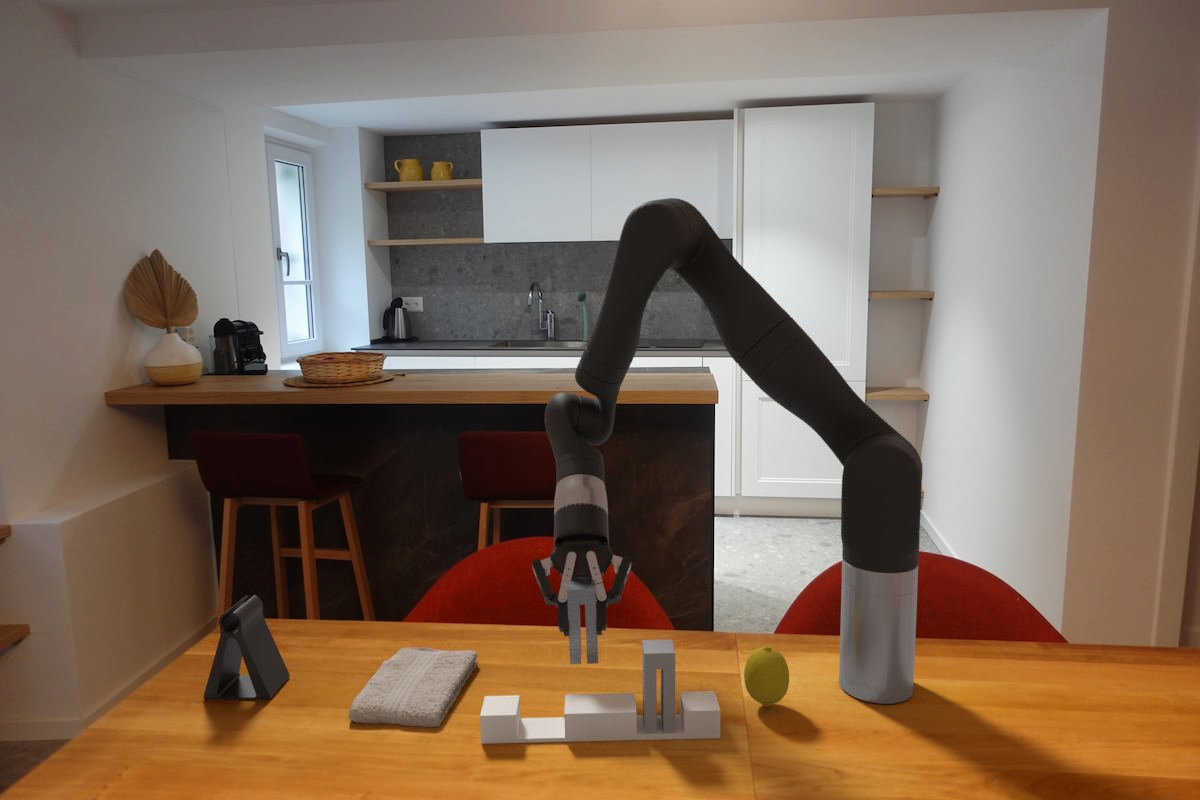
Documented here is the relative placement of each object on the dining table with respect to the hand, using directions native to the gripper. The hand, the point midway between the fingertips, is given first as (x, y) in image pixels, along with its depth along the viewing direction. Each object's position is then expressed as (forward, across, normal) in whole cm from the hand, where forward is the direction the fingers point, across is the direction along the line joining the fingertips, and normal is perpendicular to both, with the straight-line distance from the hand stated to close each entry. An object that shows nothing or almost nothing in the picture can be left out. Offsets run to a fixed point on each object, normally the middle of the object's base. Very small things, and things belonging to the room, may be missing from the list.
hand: (583, 633), depth 103 cm
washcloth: (+4, -22, +9) cm, 24 cm away
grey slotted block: (+2, 0, +4) cm, 5 cm away
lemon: (+9, +23, +4) cm, 25 cm away
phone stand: (+3, -45, +9) cm, 46 cm away
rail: (+12, +2, +1) cm, 12 cm away
